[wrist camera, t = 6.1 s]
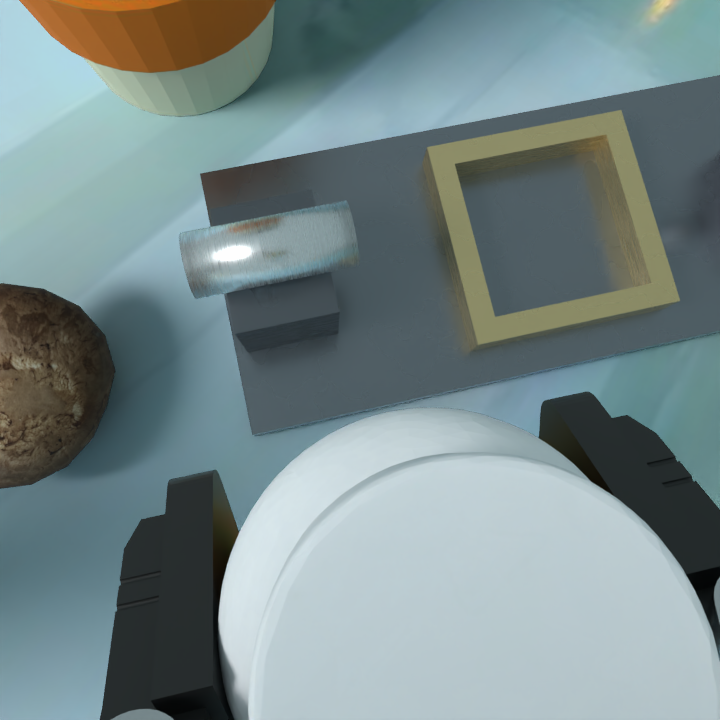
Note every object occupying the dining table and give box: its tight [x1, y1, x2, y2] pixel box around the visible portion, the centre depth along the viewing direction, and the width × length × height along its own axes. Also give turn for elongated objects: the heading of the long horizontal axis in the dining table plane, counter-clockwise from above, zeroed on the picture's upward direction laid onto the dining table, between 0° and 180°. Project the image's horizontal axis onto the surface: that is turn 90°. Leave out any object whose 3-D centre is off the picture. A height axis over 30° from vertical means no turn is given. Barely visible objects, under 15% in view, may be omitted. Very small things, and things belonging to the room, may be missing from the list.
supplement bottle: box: [218, 407, 720, 720], centre depth 10 cm, size 5×5×10 cm
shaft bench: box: [179, 75, 720, 436], centre depth 27 cm, size 30×12×7 cm, turn 103°
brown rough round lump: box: [0, 283, 115, 489], centre depth 27 cm, size 8×8×6 cm
